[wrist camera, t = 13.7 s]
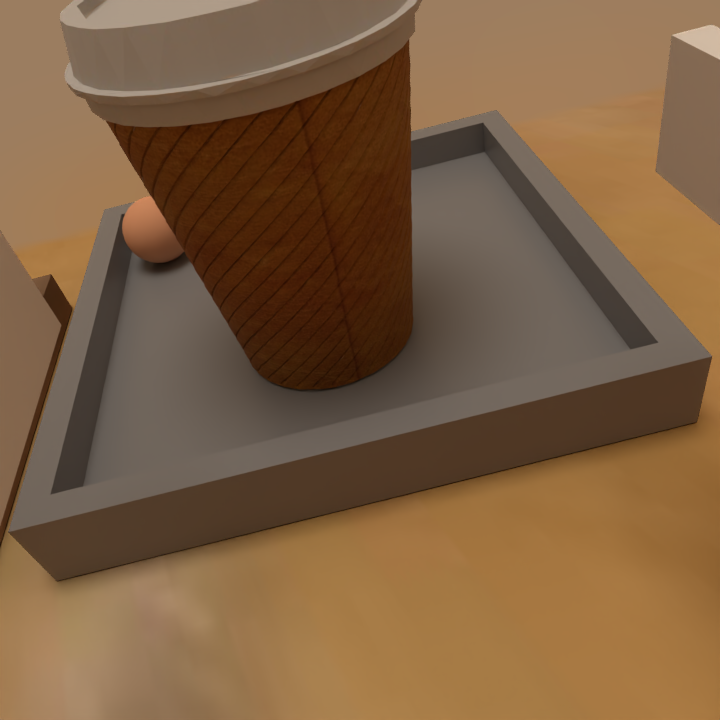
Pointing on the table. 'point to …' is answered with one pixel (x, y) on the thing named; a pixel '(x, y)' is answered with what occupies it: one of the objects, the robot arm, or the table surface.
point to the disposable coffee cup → (271, 162)
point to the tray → (365, 396)
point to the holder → (62, 313)
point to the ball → (149, 233)
